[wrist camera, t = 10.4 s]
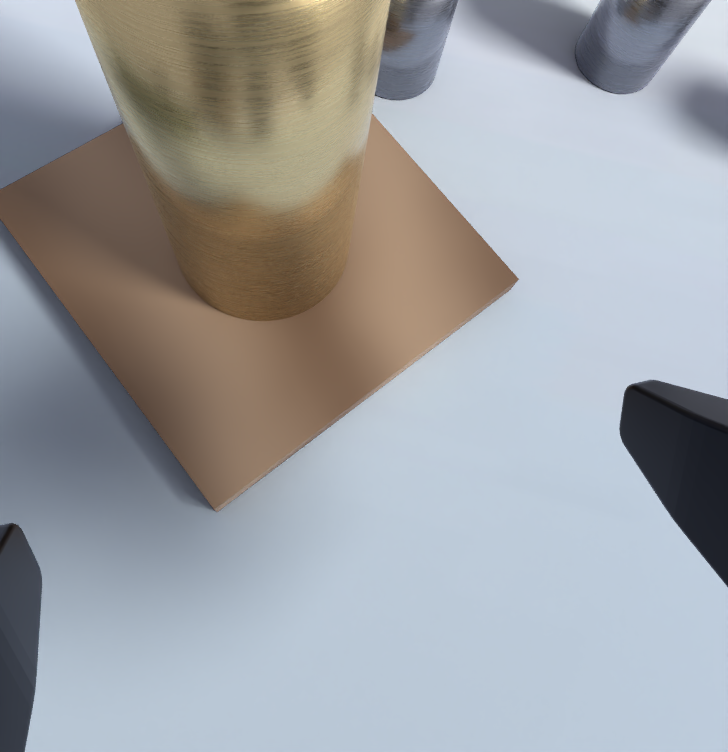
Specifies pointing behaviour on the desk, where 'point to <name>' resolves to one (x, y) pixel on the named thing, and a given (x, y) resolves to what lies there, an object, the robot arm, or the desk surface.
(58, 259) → the pad
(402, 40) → the spacer posts
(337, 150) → the gold metal cylinder
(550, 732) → the desk surface
